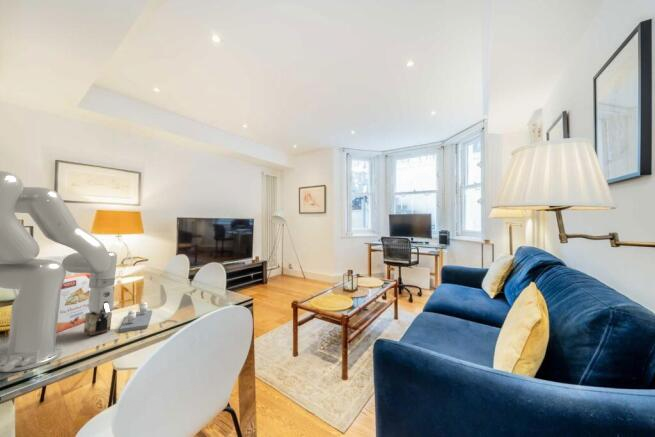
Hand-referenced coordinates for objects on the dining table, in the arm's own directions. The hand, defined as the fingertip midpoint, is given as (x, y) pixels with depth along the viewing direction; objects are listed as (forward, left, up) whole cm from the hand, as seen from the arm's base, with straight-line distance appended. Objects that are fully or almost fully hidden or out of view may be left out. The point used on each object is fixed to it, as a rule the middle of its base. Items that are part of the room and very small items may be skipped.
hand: (97, 328), depth 95 cm
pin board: (+7, -12, -2) cm, 14 cm away
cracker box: (+14, +12, -2) cm, 18 cm away
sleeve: (0, 0, -1) cm, 1 cm away
